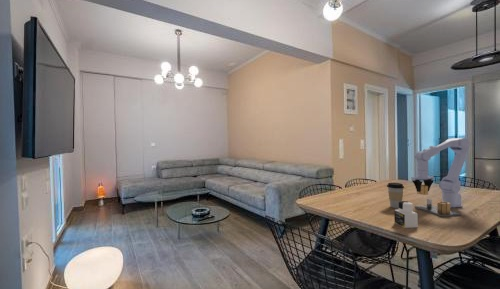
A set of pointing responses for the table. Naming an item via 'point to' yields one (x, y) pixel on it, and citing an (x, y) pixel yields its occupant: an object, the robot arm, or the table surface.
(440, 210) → the block
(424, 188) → the tan wooden cube
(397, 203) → the coffee cup
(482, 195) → the table surface
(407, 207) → the medicine bottle
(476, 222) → the table surface
